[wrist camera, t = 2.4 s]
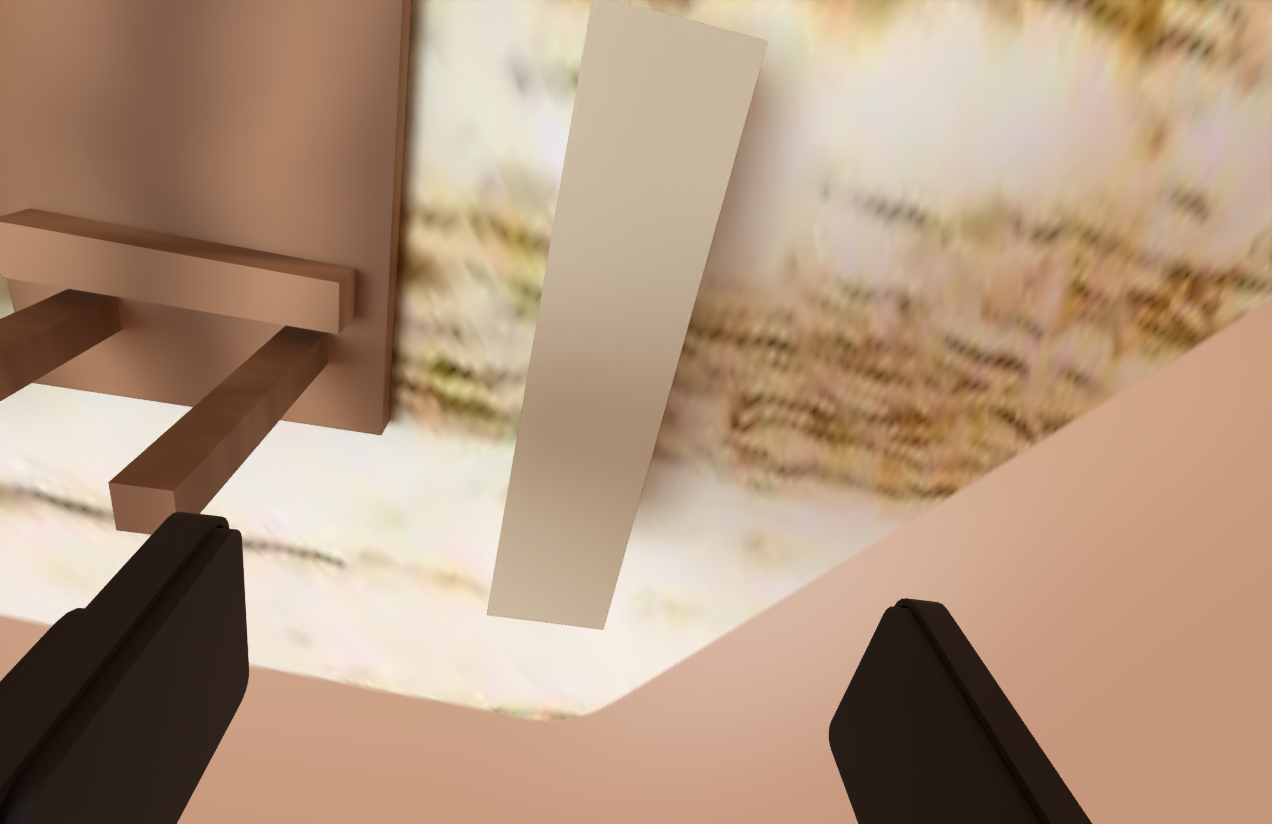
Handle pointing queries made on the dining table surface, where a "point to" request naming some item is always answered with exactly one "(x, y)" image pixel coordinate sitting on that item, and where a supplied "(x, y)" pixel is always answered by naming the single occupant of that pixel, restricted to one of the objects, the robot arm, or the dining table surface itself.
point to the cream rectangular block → (617, 298)
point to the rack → (203, 219)
